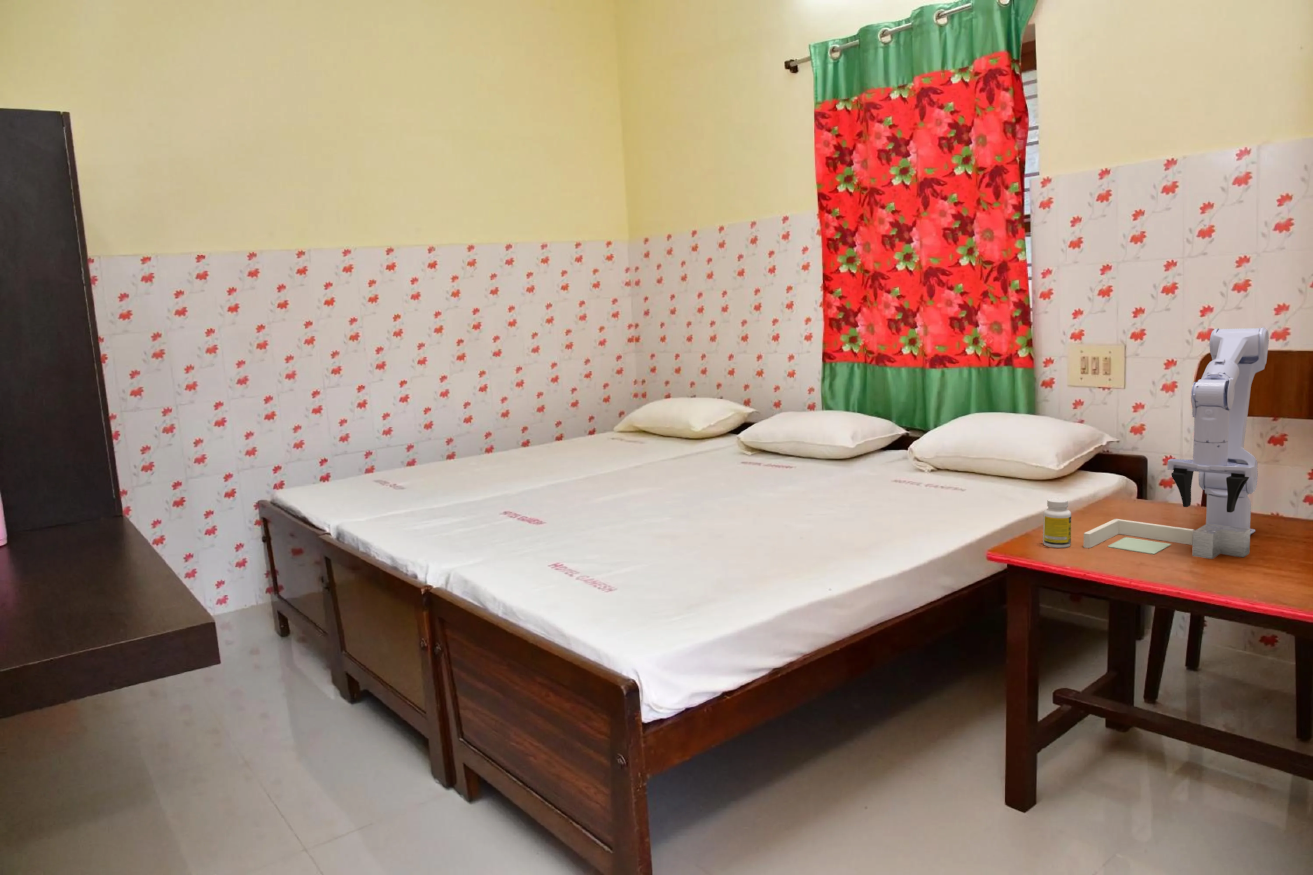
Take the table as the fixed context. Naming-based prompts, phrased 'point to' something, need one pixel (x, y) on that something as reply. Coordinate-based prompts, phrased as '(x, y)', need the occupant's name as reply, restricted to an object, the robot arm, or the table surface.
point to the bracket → (1220, 541)
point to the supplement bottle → (1057, 524)
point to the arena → (1137, 532)
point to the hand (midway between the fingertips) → (1208, 508)
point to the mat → (1139, 545)
